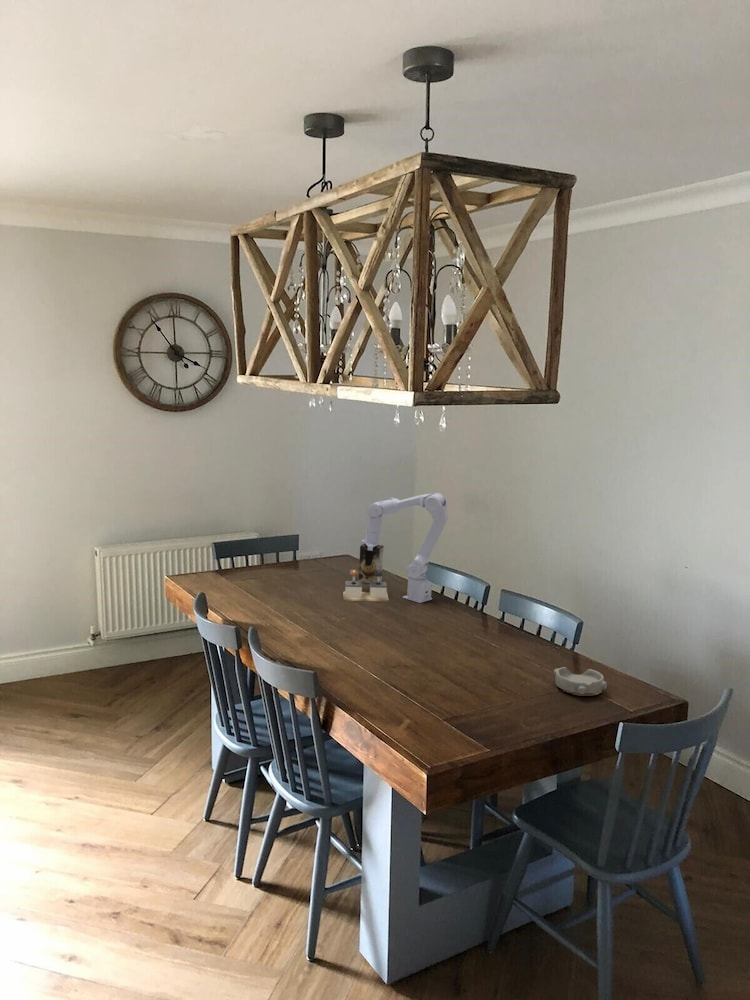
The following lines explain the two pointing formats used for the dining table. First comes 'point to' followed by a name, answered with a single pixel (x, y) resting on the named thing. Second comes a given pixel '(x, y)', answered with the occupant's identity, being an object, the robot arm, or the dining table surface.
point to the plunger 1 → (353, 572)
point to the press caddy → (356, 589)
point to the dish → (580, 681)
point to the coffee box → (369, 571)
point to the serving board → (364, 598)
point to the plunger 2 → (378, 573)
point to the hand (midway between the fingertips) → (368, 562)
